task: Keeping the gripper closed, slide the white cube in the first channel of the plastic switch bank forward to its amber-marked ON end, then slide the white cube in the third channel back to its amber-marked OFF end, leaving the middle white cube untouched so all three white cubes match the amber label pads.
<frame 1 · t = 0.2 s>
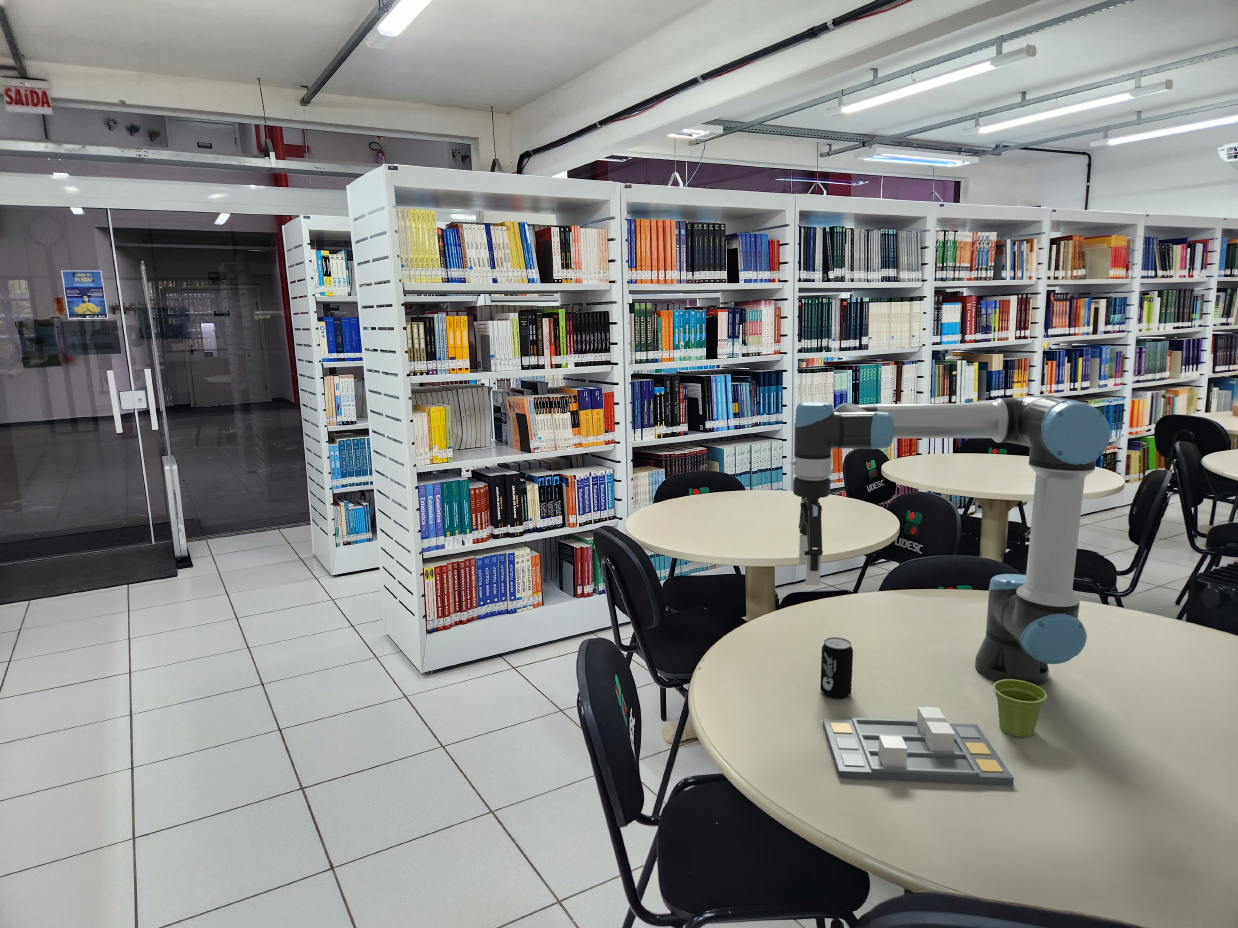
hand: (808, 573, 163), 28 cm above the table, fingers open, 13 cm apart
beverage can: (835, 694, 169), on the table
plant pot: (1016, 731, 153), on the table
white cube 2: (939, 737, 144), point 4 cm above the table, slide at 0.0 cm
white cube 3: (892, 751, 139), point 4 cm above the table, slide at 10.0 cm
white cube 1: (930, 721, 149), point 4 cm above the table, slide at 0.0 cm
switch bank: (911, 753, 145), on the table
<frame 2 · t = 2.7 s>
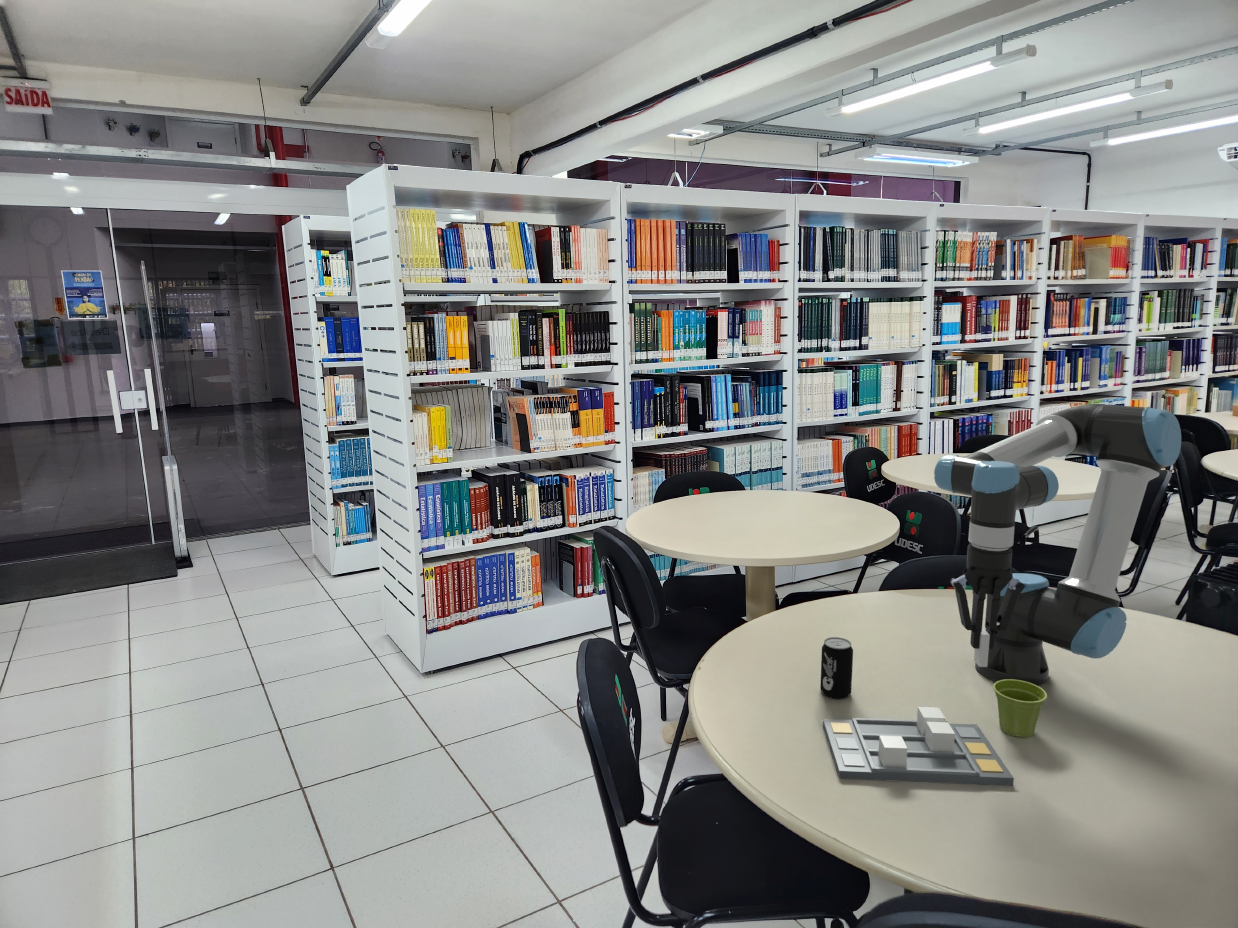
hand: (980, 663, 146), 16 cm above the table, fingers closed
nothing on the table moved.
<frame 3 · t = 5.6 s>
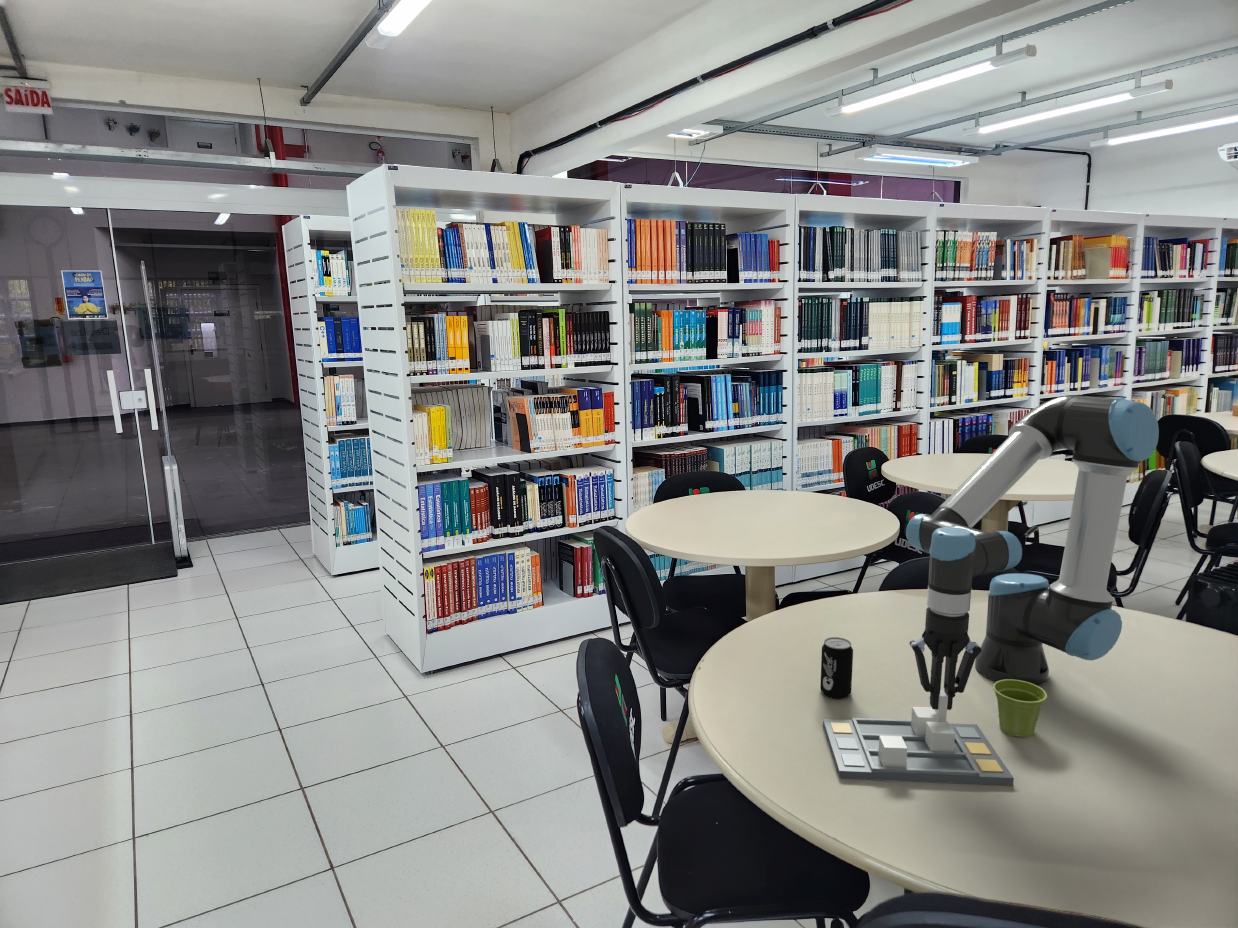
hand: (939, 723, 149), 3 cm above the table, fingers closed
white cube 1: (924, 721, 149), point 4 cm above the table, slide at 1.1 cm, touching gripper
everything else where it was.
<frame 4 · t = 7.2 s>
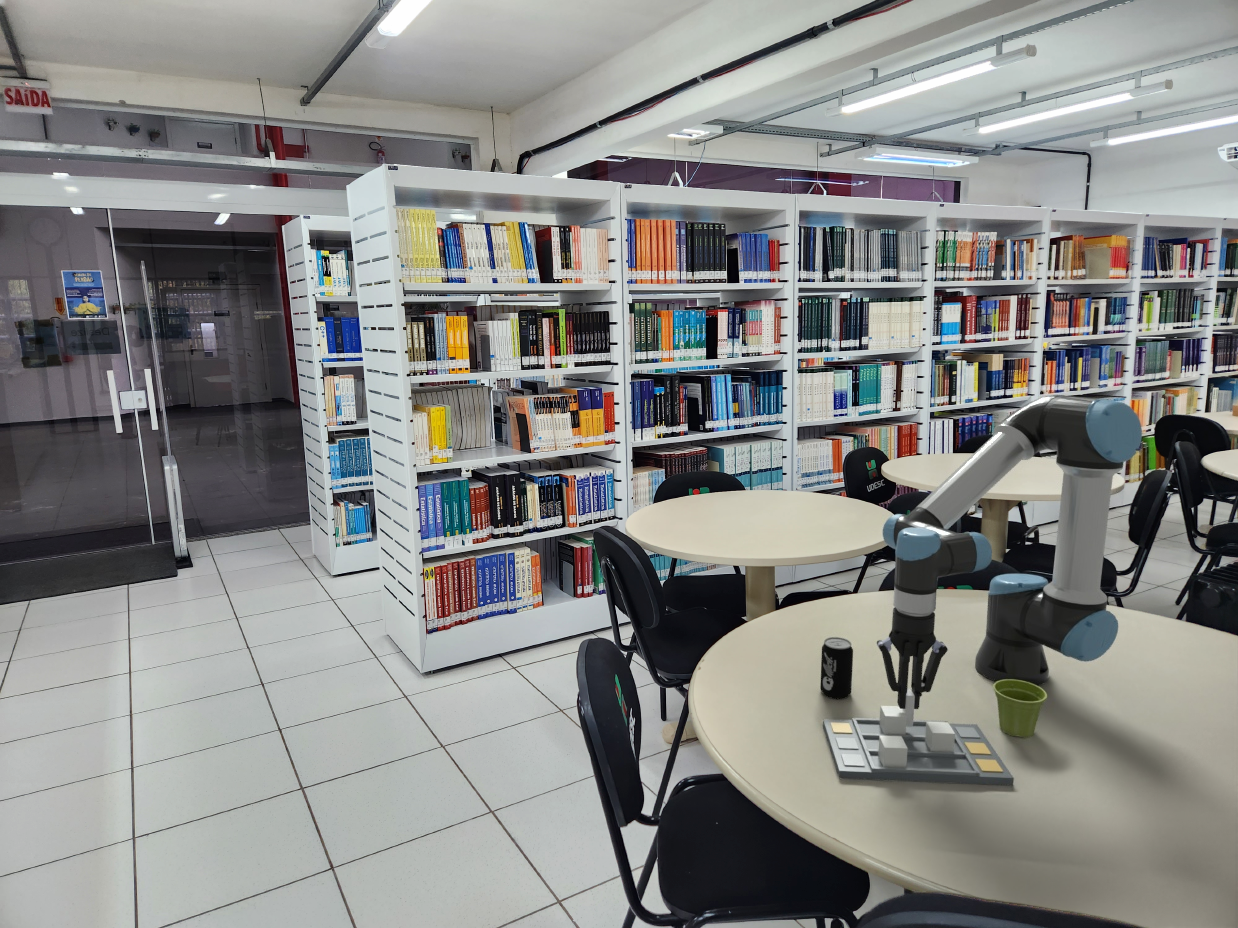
hand: (907, 722, 150), 3 cm above the table, fingers closed
white cube 1: (892, 720, 150), point 4 cm above the table, slide at 7.2 cm, touching gripper
everything else where it was.
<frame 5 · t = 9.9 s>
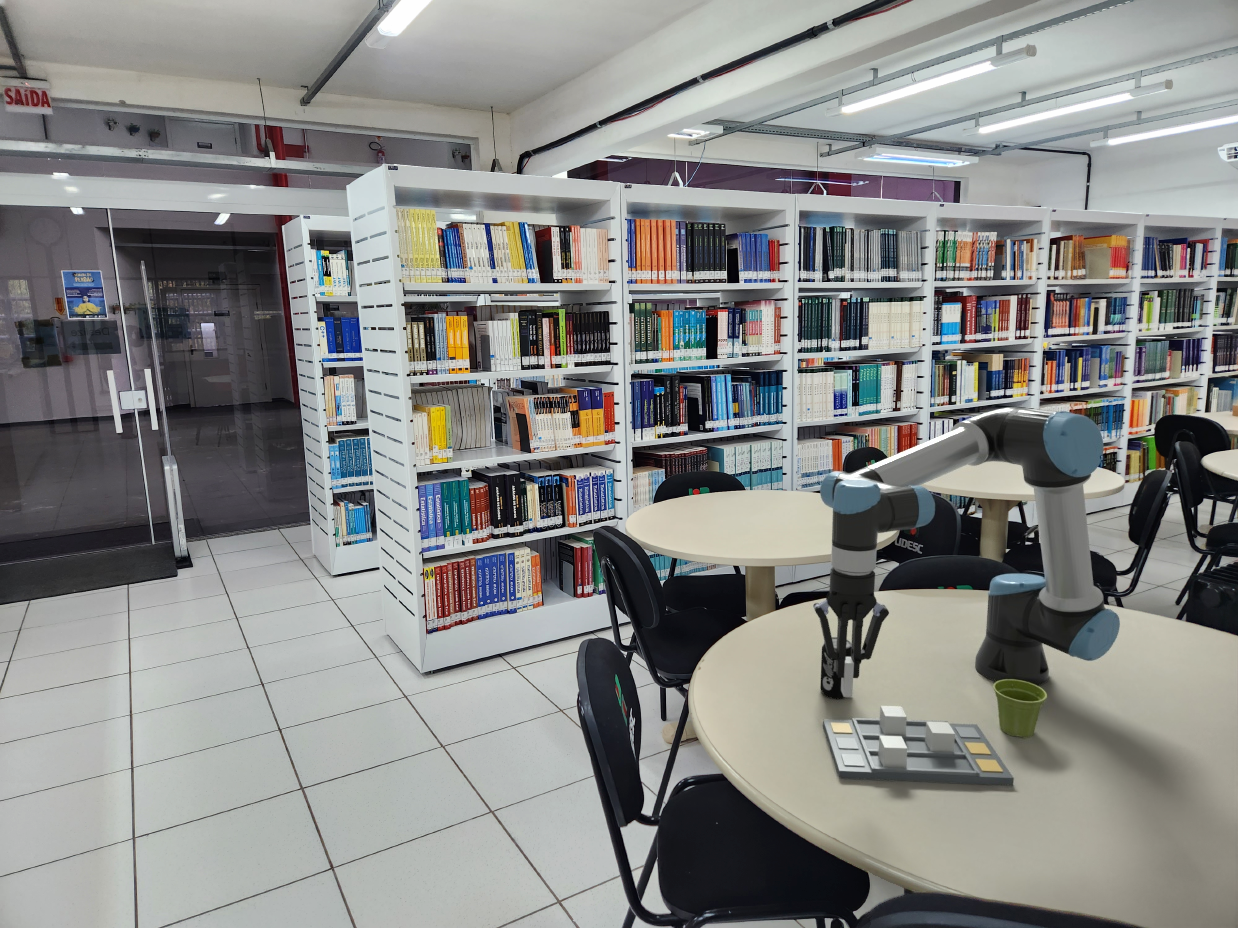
hand: (846, 693, 138), 15 cm above the table, fingers closed
white cube 1: (892, 720, 150), point 4 cm above the table, slide at 7.2 cm
everything else where it was.
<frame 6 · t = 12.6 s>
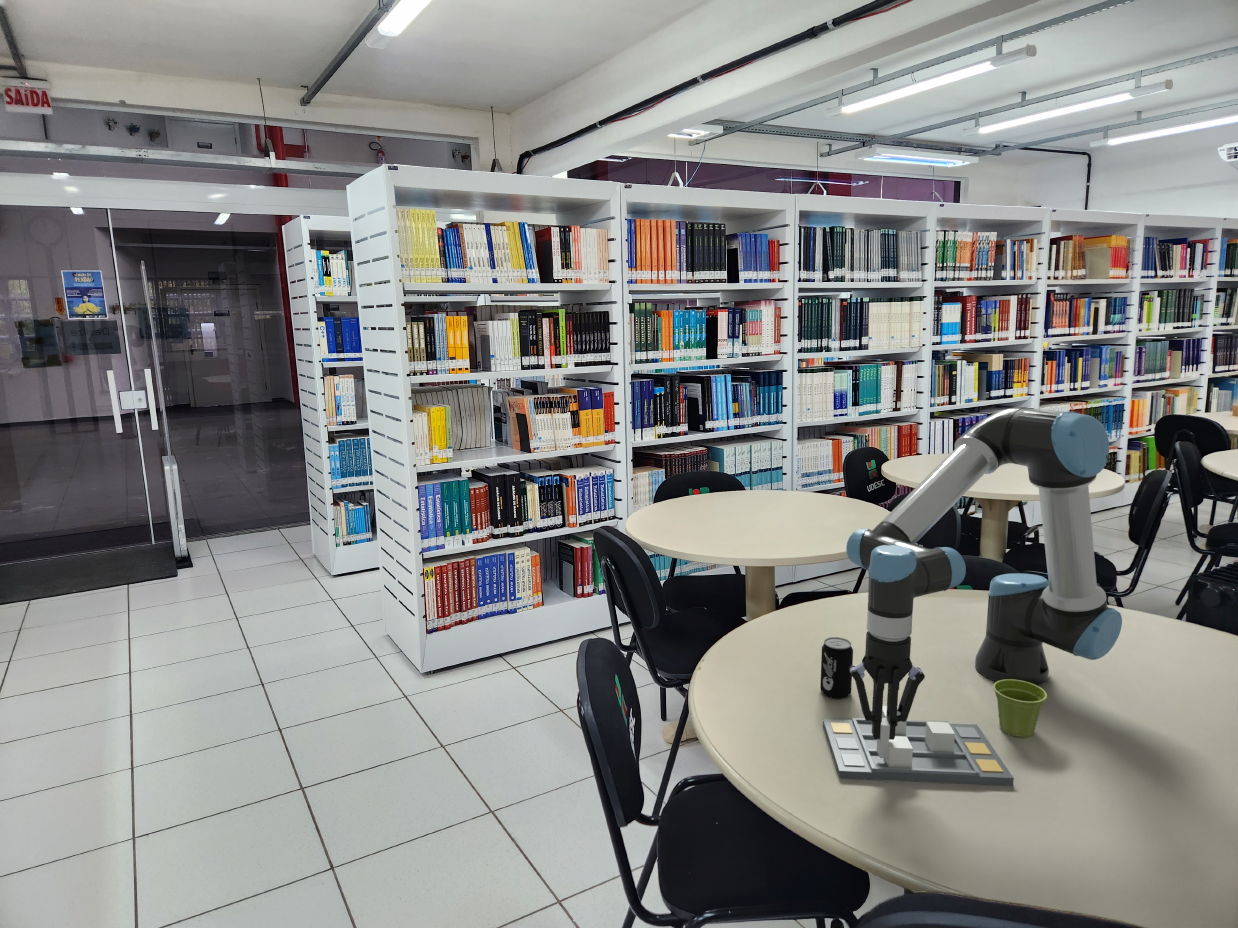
hand: (882, 753, 140), 3 cm above the table, fingers closed
white cube 3: (897, 751, 139), point 4 cm above the table, slide at 9.0 cm, touching gripper
everything else where it was.
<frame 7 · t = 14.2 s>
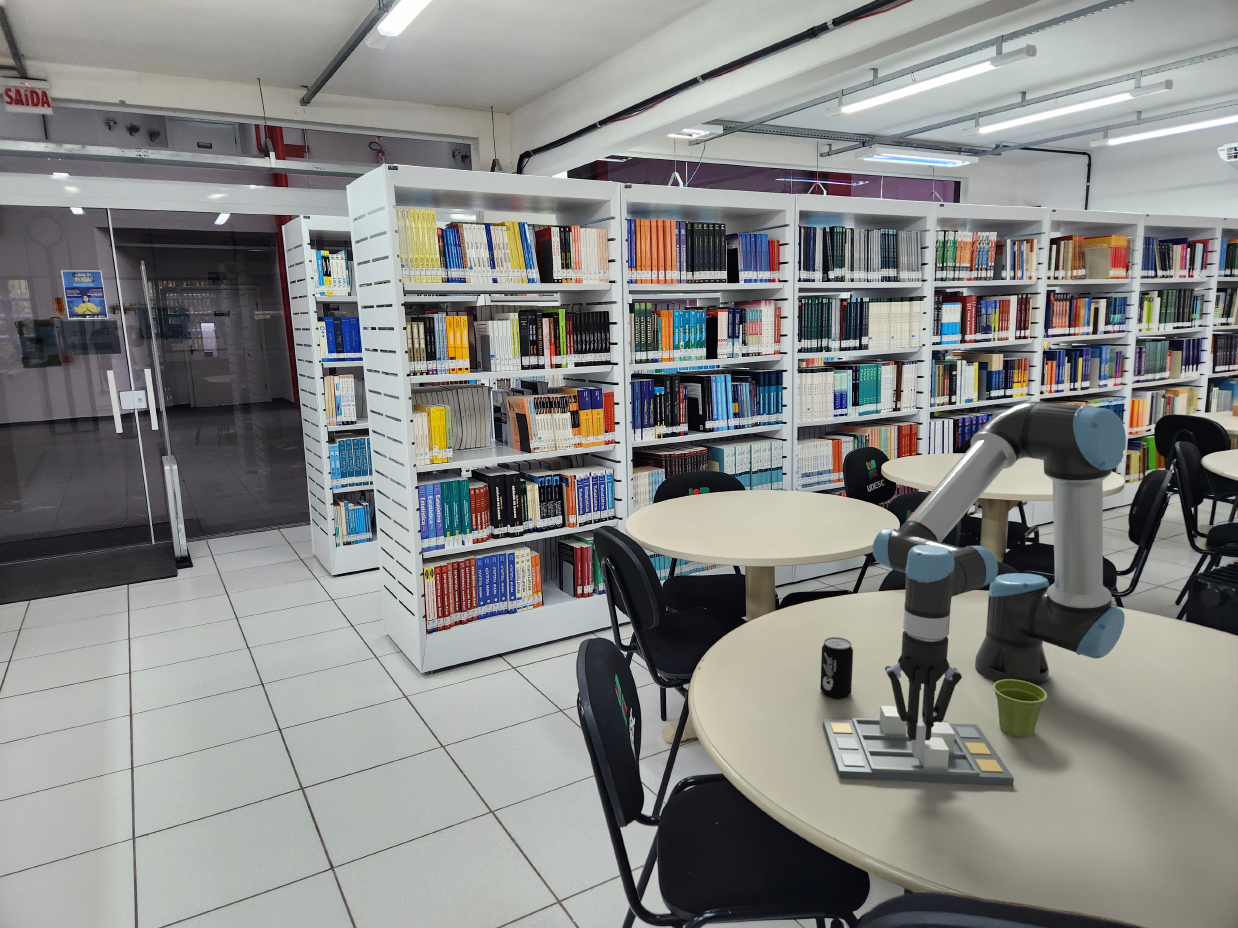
hand: (917, 754, 139), 3 cm above the table, fingers closed
white cube 3: (933, 753, 139), point 4 cm above the table, slide at 2.8 cm, touching gripper
everything else where it was.
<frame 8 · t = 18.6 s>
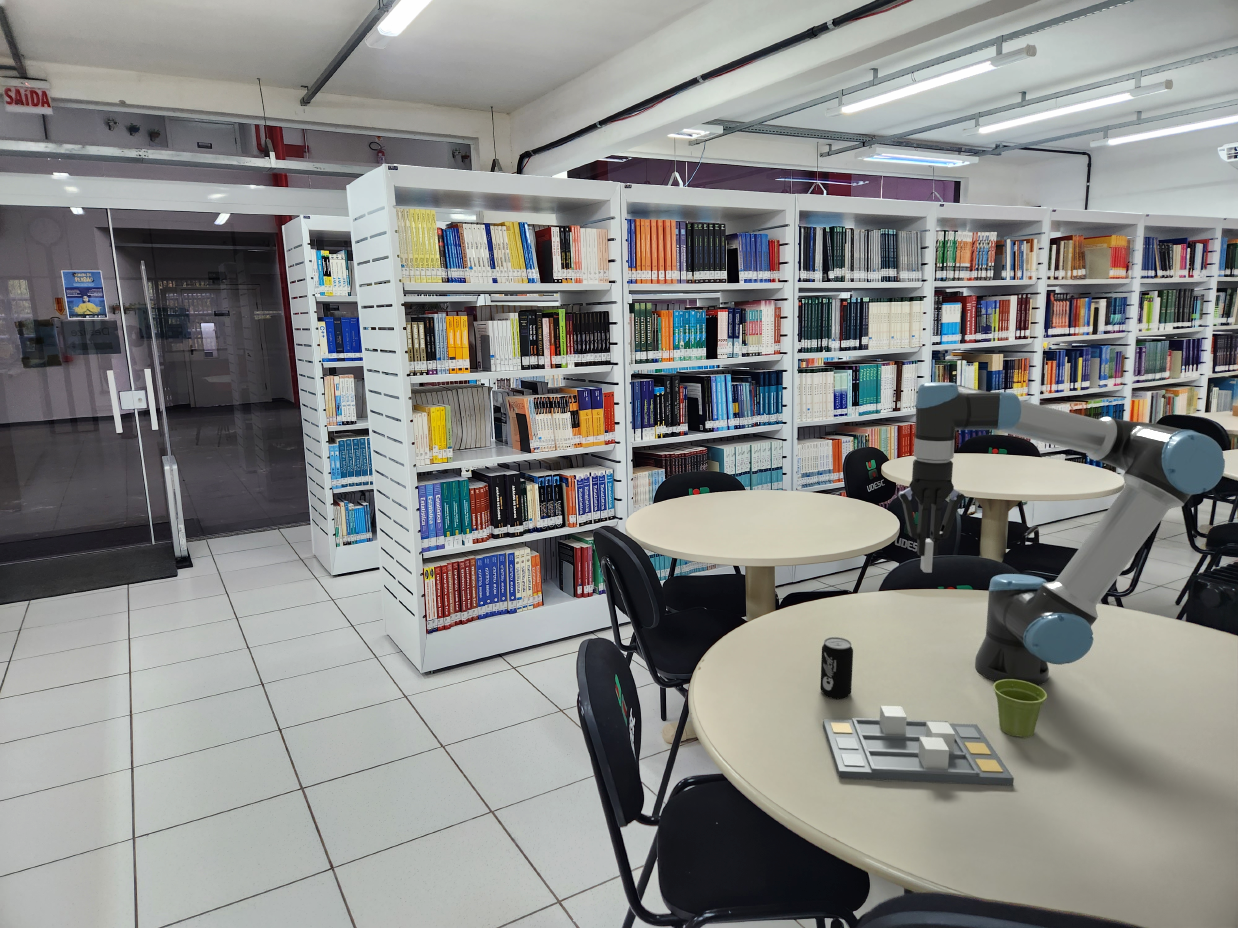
hand: (926, 570, 159), 29 cm above the table, fingers closed
white cube 3: (933, 753, 139), point 4 cm above the table, slide at 2.8 cm
everything else where it was.
at the end: white cube 1 slide at 7.2 cm; white cube 3 slide at 2.8 cm; white cube 2 slide at 0.0 cm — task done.
